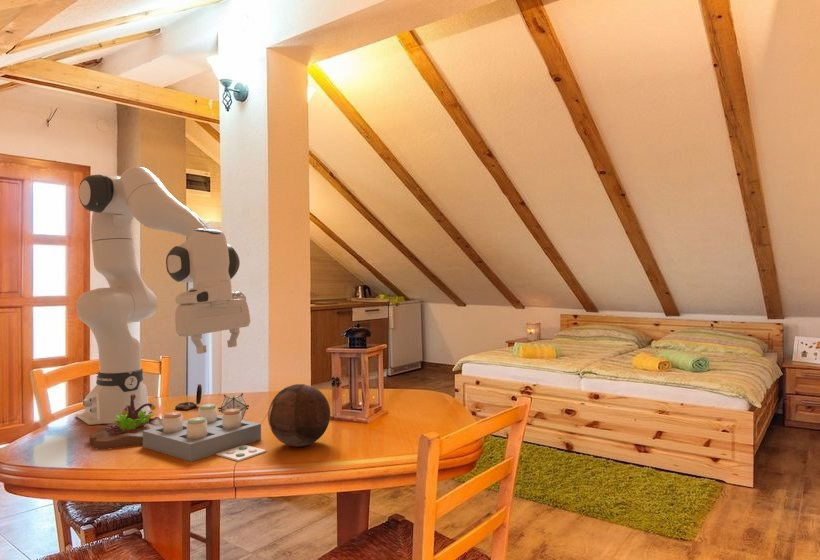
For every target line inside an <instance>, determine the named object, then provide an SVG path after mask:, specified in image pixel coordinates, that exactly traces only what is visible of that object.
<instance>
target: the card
mask: <svg viewBox="0 0 820 560" xmlns="http://www.w3.org/2000/svg"><path fill="white" fill-rule="evenodd" d="M264 453H267V449H263V448H260V447H255V446H251V445H248V444H245V445H242V446H239V447H236V448H232V449H229V450H226V451H223V452H220V453H217V454H216V456H218V457H222V458H225V459H228V460H232V461H235V462H241V461H244V460H247V459H250V458H253V457H256V456H258V455H261V454H264Z"/></svg>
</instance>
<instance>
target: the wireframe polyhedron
mask: <svg viewBox="0 0 820 560" xmlns="http://www.w3.org/2000/svg"><path fill="white" fill-rule="evenodd" d="M243 396H244V393H243V392H242V393H241V394H240V395H227V394H223V397H224V399H223V402H222V403H221V406H219V407H217V410H218V412H219V413H221V414H222V413H224V412H223V411H224V410H227V409H240V411H241V420H244V416H245V413H246V410H249V407H250V405H249V404H246V402H245V399H244V398H243Z"/></svg>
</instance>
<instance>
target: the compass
mask: <svg viewBox="0 0 820 560" xmlns="http://www.w3.org/2000/svg"><path fill="white" fill-rule="evenodd" d="M196 385H197V388H196V399H195V402H196V403H195V402H193V401H185V402H181V403H178V404H177V405H175V407H174V408H175V409H176V411H188V410H193V408H194V409H196V407H197V405H200V404H201V400H202V394H203V392H202V390H203V387H202V385H201V384H196Z"/></svg>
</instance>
